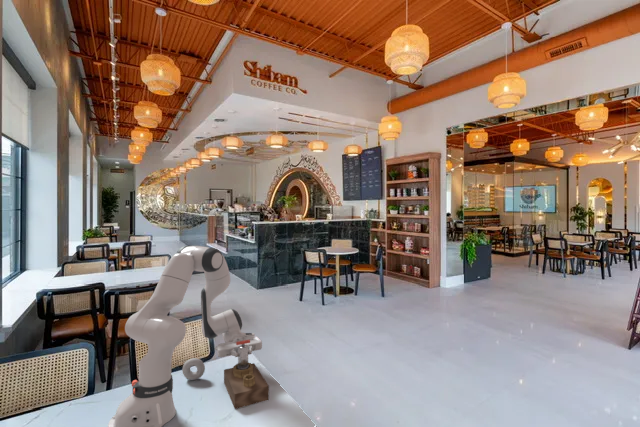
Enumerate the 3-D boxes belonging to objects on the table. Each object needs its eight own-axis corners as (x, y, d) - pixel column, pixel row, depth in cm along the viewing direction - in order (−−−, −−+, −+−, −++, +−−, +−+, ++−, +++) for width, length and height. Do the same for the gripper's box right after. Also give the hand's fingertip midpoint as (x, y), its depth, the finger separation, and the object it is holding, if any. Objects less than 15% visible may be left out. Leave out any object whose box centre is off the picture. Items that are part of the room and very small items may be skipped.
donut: (181, 382, 149) (181, 360, 149) (183, 378, 152) (183, 357, 152) (204, 381, 150) (204, 359, 150) (205, 377, 154) (205, 356, 154)
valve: (237, 372, 142) (237, 344, 142) (235, 368, 147) (235, 340, 146) (251, 369, 145) (251, 341, 145) (248, 365, 149) (248, 338, 149)
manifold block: (234, 409, 129) (234, 386, 129) (224, 382, 149) (224, 363, 149) (268, 399, 136) (268, 378, 136) (254, 375, 155) (254, 356, 155)
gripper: (214, 339, 152) (219, 351, 140) (256, 332, 162) (265, 342, 149) (214, 353, 152) (219, 366, 140) (256, 344, 162) (265, 356, 150)
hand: (243, 354), depth 145 cm, fingers closed on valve, 4 cm apart
